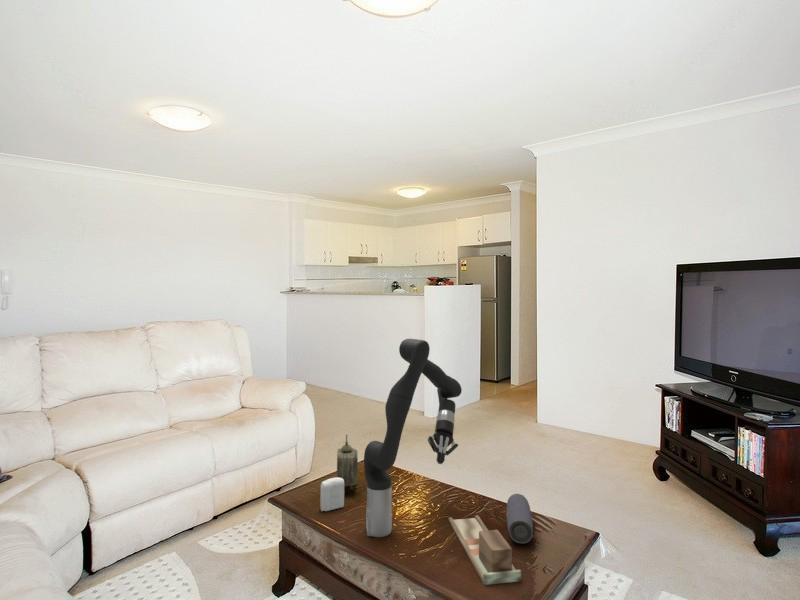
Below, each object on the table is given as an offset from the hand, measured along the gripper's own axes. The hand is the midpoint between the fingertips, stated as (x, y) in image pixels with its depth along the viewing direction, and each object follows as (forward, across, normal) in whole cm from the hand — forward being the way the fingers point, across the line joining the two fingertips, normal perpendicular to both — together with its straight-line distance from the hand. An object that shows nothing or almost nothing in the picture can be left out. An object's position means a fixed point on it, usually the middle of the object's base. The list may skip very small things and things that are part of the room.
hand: (440, 463), depth 182 cm
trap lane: (+27, +17, -2) cm, 32 cm away
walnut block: (+35, +19, -13) cm, 42 cm away
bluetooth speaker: (+17, +34, +2) cm, 38 cm away
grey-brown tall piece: (+4, -30, +44) cm, 54 cm away
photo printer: (+17, -35, +32) cm, 51 cm away
